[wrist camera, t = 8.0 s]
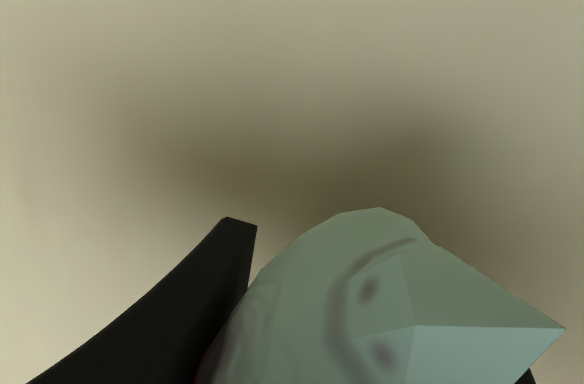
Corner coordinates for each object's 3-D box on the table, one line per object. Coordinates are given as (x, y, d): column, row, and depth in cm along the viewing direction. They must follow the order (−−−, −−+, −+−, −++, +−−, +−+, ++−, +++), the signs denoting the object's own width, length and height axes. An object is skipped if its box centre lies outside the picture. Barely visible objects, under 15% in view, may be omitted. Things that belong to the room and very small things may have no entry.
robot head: (374, 348, 14) (320, 669, 9) (235, 288, 14) (106, 578, 9) (567, 122, 9) (683, 586, 4) (347, 25, 9) (185, 372, 4)
